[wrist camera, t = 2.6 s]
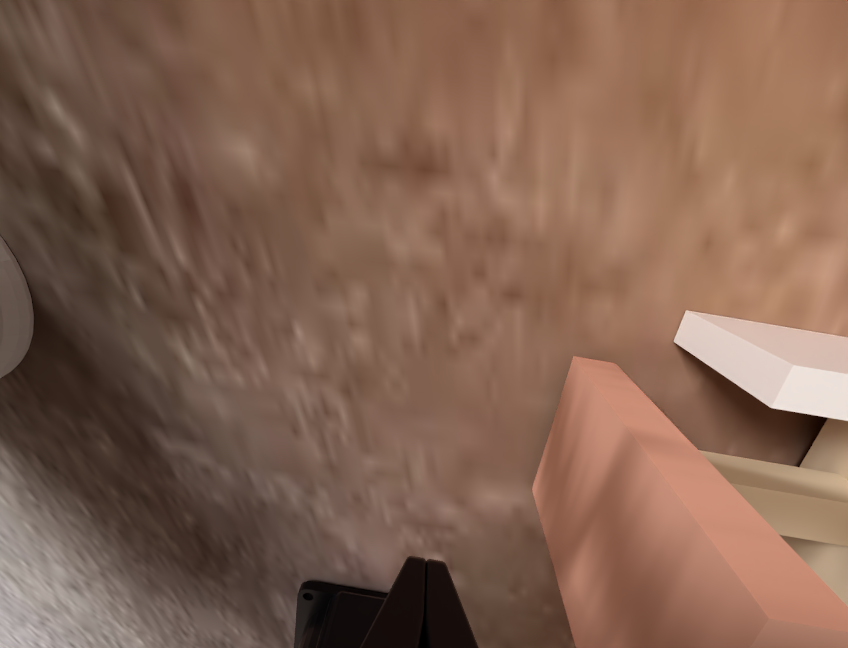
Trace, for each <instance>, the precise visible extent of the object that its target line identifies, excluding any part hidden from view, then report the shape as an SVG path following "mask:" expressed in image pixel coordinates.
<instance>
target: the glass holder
mask: <svg viewBox="0 0 848 648" xmlns="http://www.w3.org/2000/svg"><path fill="white" fill-rule="evenodd" d="M33 325H34V313H33V306H32V299H31V295H30V292H29V289H28V286H27V283H26V279H25V277H24V275H23V273H22V271H21V269H20V267H19V264H18V262H17V260H16V258H15V257H14V255H13V254H12V252H11V251H10V249H9V248H8V246H7V244H6V243H5V241H4V240H3V238H2V237H1V236H0V378H1V377H3V376H5V375H6V374H8V373H10V372H11V371H13V370H14V368H15V367H16V366H17V365H18V364H19V363H20V362H21V361H22V360H23V358H24V356H25V354H26V353H27V351H28V349H29V346H30V343H31V339H32V335H33Z"/></svg>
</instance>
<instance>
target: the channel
mask: <svg viewBox="0 0 848 648" xmlns="http://www.w3.org/2000/svg"><path fill="white" fill-rule="evenodd" d="M674 342H675V343H676V344H678V345H679V346H681V347H682V348H683V349H685V350H686V351H688V352H689V353H691V354H692V355H694V356H695V357H697V358H698V359H700V360H701V361H703V362H704V363H706V364H707V365H709V366H710V367H711V368H713V369H714V370H716V371H717V372H719V373H720V374H722V375H723V376H725V377H726V378H728V379H729V380H731V381H732V382H734V383H735V384H736V385H738V386H739V387H741V388H742V389H744V390H745V391H747V392H748V393H750V394H751V395H753V396H754V397H756V398H757V399H759V400H760V401H761V402H763V403H764V404H766V405H767V406H769V407H770V408H774V409H780V410H786V411H792V412H798V413H804V414H810V415H816V416H822V417H828V418H833V419H839V420H845V421H848V337H843V336H837V335H831V334H825V333H819V332H813V331H807V330H801V329H795V328H789V327H783V326H777V325H771V324H765V323H759V322H753V321H747V320H741V319H735V318H730V317H724V316H718V315H712V314H706V313H700V312H694V311H688V310H686V312H685V314H684V317H683V319H682V322H681V324H680V327H679V329H678V332H677V334H676V337H675V339H674Z"/></svg>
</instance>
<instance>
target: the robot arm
mask: <svg viewBox="0 0 848 648" xmlns="http://www.w3.org/2000/svg"><path fill="white" fill-rule="evenodd" d="M294 648H478V645H477V642H476V640H475V637H474V635H473V632H472V630H471V627H470V625H469V622H468V619H467V617H466V614H465V612H464V609H463V607H462V604H461V601H460V599H459V596H458V594H457V591H456V589H455V586H454V584H453V581H452V578H451V576H450V573H449V571H448V568H447V566H446V564H445V563H444V562H443V561H438V560H432V559H428V560H427V561H426V560H425V559H424V558H420V557H415V556H409V557H408V558H407V559H406V561H405V563H404V565H403V567H402V568H401V570H400V572H399V574H398V576H397V578H396V580H395V582H394V584H393V586H392V588H391V590H390V591H389V593H388V594H382V593H376V592H371V591H365V590H359V589H353V588H347V587H342V586H336V585H330V584H324V583H318V582H313V581H307V582H304V583H303V584H302V585H301V588H300V590H299V593H298V598H297V613H296V628H295V642H294Z"/></svg>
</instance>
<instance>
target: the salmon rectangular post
mask: <svg viewBox="0 0 848 648" xmlns="http://www.w3.org/2000/svg"><path fill="white" fill-rule="evenodd" d="M532 491H533V495H534V499H535V502H536V506H537V509H538V513H539V517H540V520H541V524H542V527H543V531H544V535H545V538H546V542H547V545H548V549H549V553H550V556H551V560H552V564H553V567H554V571H555V574H556V578H557V582H558V585H559V589H560V592H561V596H562V600H563V603H564V607H565V611H566V614H567V618H568V621H569V625H570V629H571V632H572V636H573V639H574V643H575V647H576V648H848V421H845V420H839V419H833V418H828V419H827V421H826V422H825V424H824V426H823V427H822V429H821V431H820V432H819V434H818V436H817V438H816V439H815V441H814V443H813V444H812V446H811V448H810V450H809V451H808V453H807V455H806V456H805V458H804V460H803V461H802V463H801V465H800V467H795V466H789V465H783V464H777V463H771V462H765V461H759V460H754V459H748V458H742V457H736V456H730V455H724V454H718V453H712V452H706V451H701V450H698V449H697V448H696V447H695V446H694V445H693V444H692V443H691V442H690V441H689V440H688V439H687V438H686V437H685V436H684V435H683V434H682V433H681V432H680V431H679V430H678V429H677V427H676V426H675V425H674V424H673V423H672V422H671V421H670V420H669V419H668V418H667V417H666V416H665V415H664V414H663V413H662V412H661V411H660V410H659V409H658V408H657V407H656V405H655V404H654V403H653V402H652V401H651V400H650V399H649V398H648V397H647V396H646V395H645V394H644V393H643V392H642V391H641V390H640V389H639V388H638V387H637V386H636V385H635V383H634V382H633V381H632V380H631V379H630V378H629V377H628V376H627V375H626V374H625V373H624V372H623V371H622V370H621V369H620V368H619V367H618V366H617V365H616V364H615V363H611V362H605V361H599V360H593V359H587V358H581V357H575V356H573V359H572V363H571V366H570V369H569V372H568V375H567V379H566V382H565V385H564V388H563V392H562V395H561V398H560V401H559V404H558V408H557V411H556V414H555V417H554V420H553V424H552V427H551V430H550V433H549V436H548V440H547V443H546V446H545V449H544V452H543V456H542V459H541V462H540V465H539V468H538V472H537V475H536V478H535V481H534V484H533V488H532Z"/></svg>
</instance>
